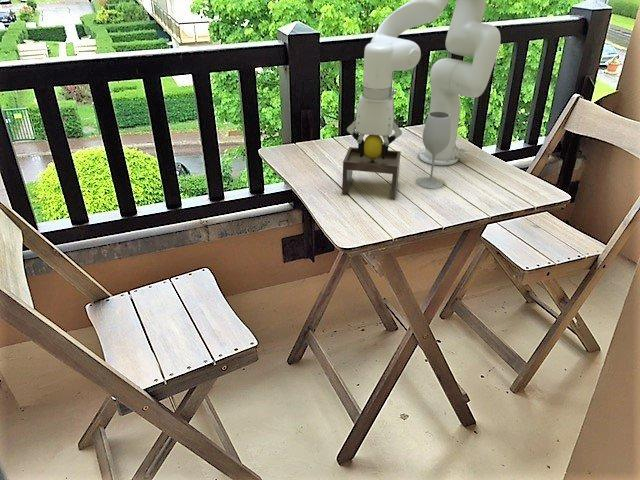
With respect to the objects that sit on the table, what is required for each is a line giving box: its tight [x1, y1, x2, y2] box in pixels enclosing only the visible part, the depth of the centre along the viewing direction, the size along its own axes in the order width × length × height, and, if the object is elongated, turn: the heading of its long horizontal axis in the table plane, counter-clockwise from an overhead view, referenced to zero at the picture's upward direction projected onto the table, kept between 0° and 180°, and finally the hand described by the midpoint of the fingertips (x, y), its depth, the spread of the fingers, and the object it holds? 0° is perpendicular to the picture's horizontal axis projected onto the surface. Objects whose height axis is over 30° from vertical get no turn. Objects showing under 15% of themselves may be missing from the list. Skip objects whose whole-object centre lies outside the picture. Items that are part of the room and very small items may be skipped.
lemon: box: [363, 135, 384, 160], centre depth 147 cm, size 6×6×8 cm
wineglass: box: [417, 111, 451, 190], centre depth 152 cm, size 8×8×21 cm
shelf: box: [341, 146, 402, 201], centre depth 151 cm, size 15×11×10 cm
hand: (372, 155), depth 149 cm, fingers closed on lemon, 5 cm apart
